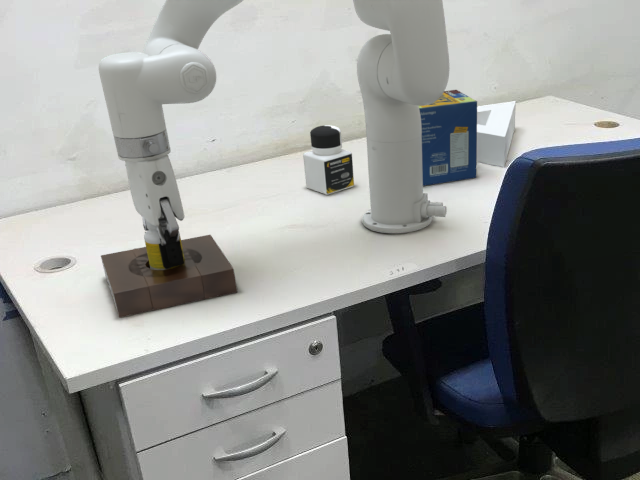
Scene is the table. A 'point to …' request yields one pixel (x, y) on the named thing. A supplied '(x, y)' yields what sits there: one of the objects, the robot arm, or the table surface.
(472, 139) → the protein box
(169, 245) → the robot arm
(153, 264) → the supplement bottle
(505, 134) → the triangle block
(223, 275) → the holder block
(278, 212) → the table surface
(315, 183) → the medicine bottle
